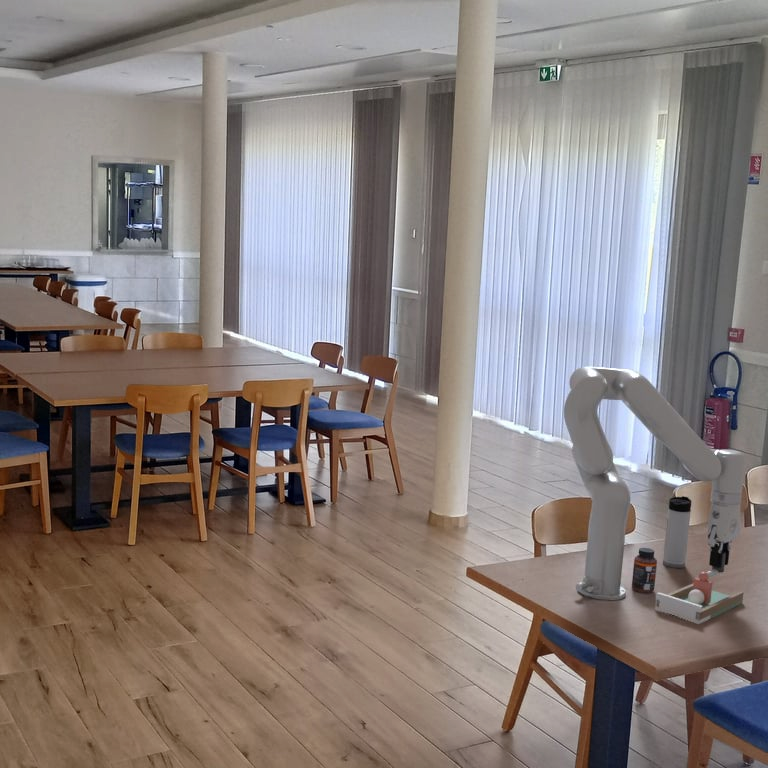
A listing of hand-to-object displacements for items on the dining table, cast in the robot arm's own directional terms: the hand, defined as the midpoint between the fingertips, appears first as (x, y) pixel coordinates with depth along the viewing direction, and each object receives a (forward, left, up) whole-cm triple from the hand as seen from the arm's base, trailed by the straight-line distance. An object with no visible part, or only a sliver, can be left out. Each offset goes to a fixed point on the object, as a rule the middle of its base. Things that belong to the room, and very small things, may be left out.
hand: (718, 564), depth 271 cm
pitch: (-8, 0, -10) cm, 13 cm away
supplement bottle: (-9, +16, -10) cm, 21 cm away
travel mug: (+19, +22, -10) cm, 30 cm away
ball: (-11, 0, -7) cm, 13 cm away
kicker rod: (-4, 0, -8) cm, 9 cm away
